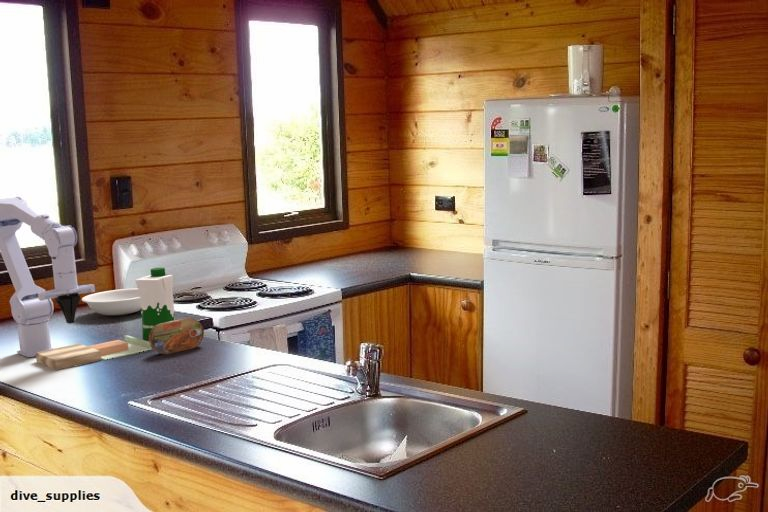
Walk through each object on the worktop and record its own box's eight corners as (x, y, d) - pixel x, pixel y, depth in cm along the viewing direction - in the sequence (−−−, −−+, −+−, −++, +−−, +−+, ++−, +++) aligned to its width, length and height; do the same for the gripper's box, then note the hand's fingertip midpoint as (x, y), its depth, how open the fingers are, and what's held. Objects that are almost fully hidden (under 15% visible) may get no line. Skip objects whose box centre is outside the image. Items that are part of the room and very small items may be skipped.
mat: (80, 351, 252) (79, 345, 252) (127, 341, 261) (127, 335, 261) (105, 360, 240) (104, 353, 239) (153, 349, 249) (153, 342, 248)
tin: (153, 357, 240) (150, 326, 239) (148, 355, 243) (145, 324, 241) (205, 346, 249) (202, 316, 248) (200, 344, 251) (197, 314, 250)
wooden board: (36, 361, 243) (35, 352, 243) (80, 352, 251) (79, 343, 250) (56, 370, 232) (55, 360, 232) (101, 360, 240) (100, 350, 240)
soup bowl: (173, 308, 307) (171, 289, 306) (118, 324, 287) (116, 303, 286) (124, 305, 320) (122, 286, 319) (68, 319, 300) (65, 300, 299)
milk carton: (181, 335, 264) (175, 267, 262) (163, 342, 256) (156, 272, 253) (156, 334, 268) (150, 267, 265) (137, 341, 259) (130, 272, 257)
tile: (87, 353, 248) (87, 346, 247) (119, 346, 253) (118, 339, 253) (97, 356, 243) (96, 349, 243) (128, 349, 249) (127, 342, 249)
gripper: (42, 277, 232) (48, 329, 234) (97, 269, 242) (102, 319, 244) (33, 275, 238) (38, 326, 240) (86, 267, 247) (92, 316, 249)
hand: (70, 322), depth 242 cm, fingers closed
